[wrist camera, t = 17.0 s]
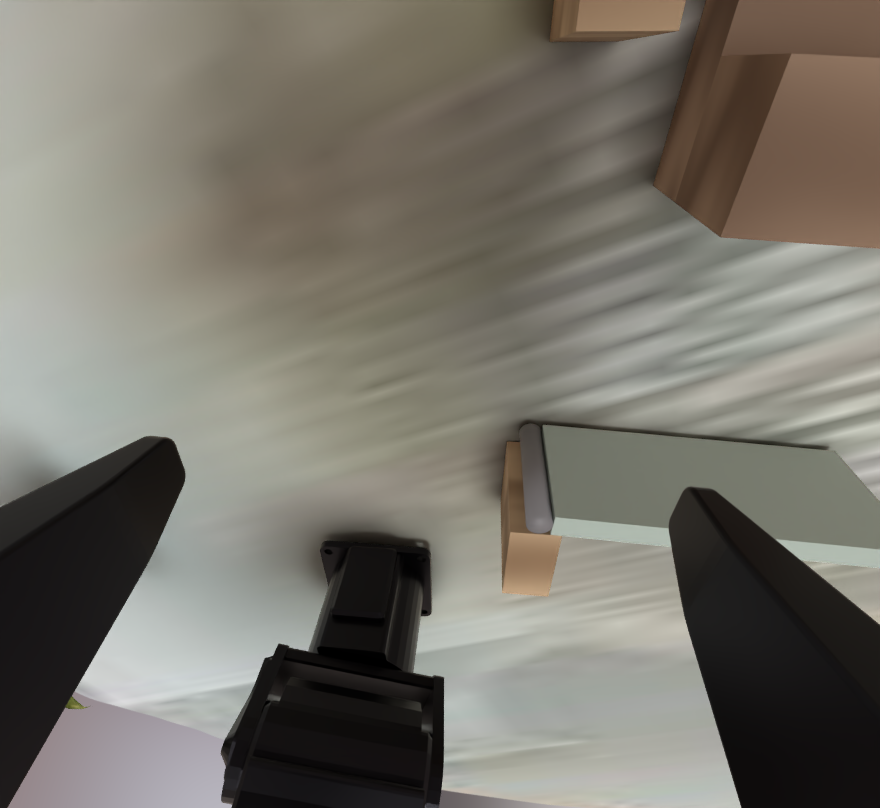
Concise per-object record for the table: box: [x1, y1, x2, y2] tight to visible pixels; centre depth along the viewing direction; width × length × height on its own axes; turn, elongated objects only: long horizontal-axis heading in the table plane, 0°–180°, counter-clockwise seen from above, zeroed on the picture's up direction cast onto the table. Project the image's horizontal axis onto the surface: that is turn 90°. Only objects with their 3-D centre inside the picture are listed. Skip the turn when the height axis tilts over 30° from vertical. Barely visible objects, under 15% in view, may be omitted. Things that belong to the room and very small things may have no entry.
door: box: [519, 424, 880, 568], centre depth 20 cm, size 14×1×6 cm, turn 88°
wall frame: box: [501, 0, 686, 596], centre depth 17 cm, size 22×2×6 cm, turn 0°
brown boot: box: [653, 0, 880, 248], centre depth 11 cm, size 8×4×6 cm, turn 178°
